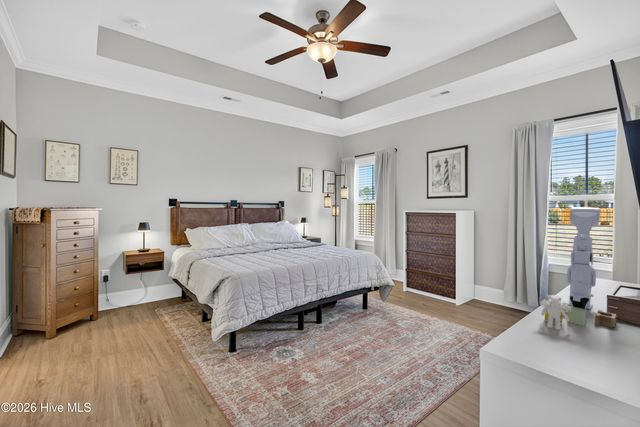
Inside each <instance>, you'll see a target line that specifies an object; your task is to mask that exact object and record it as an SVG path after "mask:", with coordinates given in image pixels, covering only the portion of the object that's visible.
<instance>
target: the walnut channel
mask: <svg viewBox="0 0 640 427" xmlns="http://www.w3.org/2000/svg"><path fill="white" fill-rule="evenodd" d="M561 303H562V304H563V306H564V305H565V304H567V303H566V302H561ZM563 310H564V309H563ZM565 311H567V310H565ZM615 323H617V314H616V313H611V312H606V311H603V310H602V309H597V312H595V315H594V326H600V325H601V326H605V327H608V328H613V327H614V328H615V327H616V324H615Z"/></svg>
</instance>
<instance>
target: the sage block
mask: <svg viewBox="0 0 640 427" xmlns="http://www.w3.org/2000/svg"><path fill="white" fill-rule="evenodd" d="M569 306H570V308H571V310H570V311H571V312H570V311H569V310H567V311H568V312H567V314H566V315H567V316H568V318H569V321H567V320H566V322H567V323H571V324H575V325H579V326H584V327H585V326H586V323H587V316H588V315H587V312H588V309H586V308H585V309H582V308H577V307H573V306H571V305H569Z"/></svg>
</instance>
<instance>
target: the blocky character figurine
mask: <svg viewBox="0 0 640 427" xmlns="http://www.w3.org/2000/svg"><path fill="white" fill-rule="evenodd" d="M548 295H549V296H548ZM552 295H553V294H547V293H545V296H546V298H548V297H549V298H552V297H551V296H552ZM547 301H548V300H547V299H543V300H542V299H541V301H540V302H539V306H541V307H542V310H541V313H540V314H541V316H545V313H546V314H547V312H548V314H549V319H548V322H547V325H546V327H547V328H550V329H553V328H554V329H555V330H558V331H561V330H562V326H561V324H560V315H561V313H562V315H563V318H564V319H565V320H566V322H567V321H569V318H568V316H567V314H566V313H568V310H569V311H570V310H571V308H570V306H571V305H567V303H566V304H565V305H564V306H563V307H562V305H561V303H562V300H561V301H560V300H559V299H558V298H555V297H553V298H552V299H550V300H549V304H548V303H547ZM563 309H564V310H563ZM565 310H566V311H565ZM546 311H547V312H546ZM570 312H571V311H570ZM554 318H555V321H556V324H553V319H554ZM553 325H554V327H553Z"/></svg>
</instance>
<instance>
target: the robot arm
mask: <svg viewBox="0 0 640 427" xmlns="http://www.w3.org/2000/svg"><path fill="white" fill-rule="evenodd" d="M600 218H601V208H599V207H574V206H572V207H570V209H569V222H570V225H571V226H574V227H576V230H577V232H576V233H577V235H576V236H575V237H574V238H573V243H572V244H573V245H572V251H571V252H570V263H571V264H570V265H568V267H567V272H566V282H567V284H569V300H568V302H567V303H566V304H567V305H568V306H572V307H577V308H582V309H587V310H591V309H592V307H593V305H594V304H593V303H591V302H592V301H591V298H594V293H592V288H594V287H595V286H596V281H597V274H596V273H597V270H596V269H595V267H593V265H594V252H593V238H592V237H591V230H592V228H595V227H598V225H599V224H600V220H601V219H600Z"/></svg>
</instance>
